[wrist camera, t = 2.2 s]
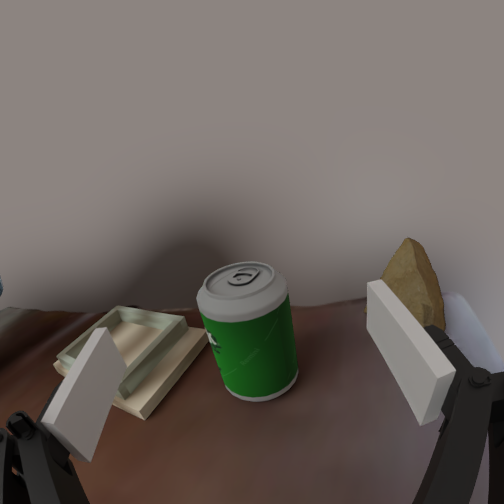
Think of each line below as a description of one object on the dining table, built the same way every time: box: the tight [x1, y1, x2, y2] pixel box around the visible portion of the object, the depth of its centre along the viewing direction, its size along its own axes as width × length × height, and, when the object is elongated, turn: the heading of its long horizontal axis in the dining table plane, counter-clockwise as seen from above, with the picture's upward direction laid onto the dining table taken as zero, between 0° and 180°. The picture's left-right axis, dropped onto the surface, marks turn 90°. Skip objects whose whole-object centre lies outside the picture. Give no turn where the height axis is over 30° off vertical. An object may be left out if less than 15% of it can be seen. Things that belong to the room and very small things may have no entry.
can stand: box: [53, 305, 209, 420], centre depth 34 cm, size 18×14×4 cm
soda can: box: [197, 262, 298, 402], centre depth 26 cm, size 8×8×12 cm
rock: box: [364, 238, 446, 331], centre depth 29 cm, size 11×9×10 cm
